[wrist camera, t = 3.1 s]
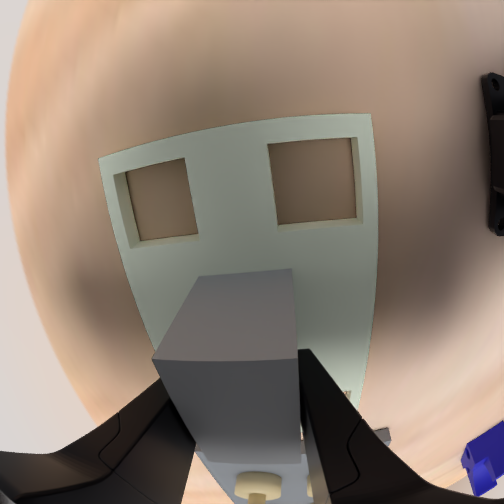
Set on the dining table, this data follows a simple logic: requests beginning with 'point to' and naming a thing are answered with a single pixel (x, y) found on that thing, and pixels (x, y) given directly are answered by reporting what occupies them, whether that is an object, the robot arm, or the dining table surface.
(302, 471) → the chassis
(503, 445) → the blue u-shaped cradle
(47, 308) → the dining table surface
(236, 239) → the board
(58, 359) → the dining table surface
